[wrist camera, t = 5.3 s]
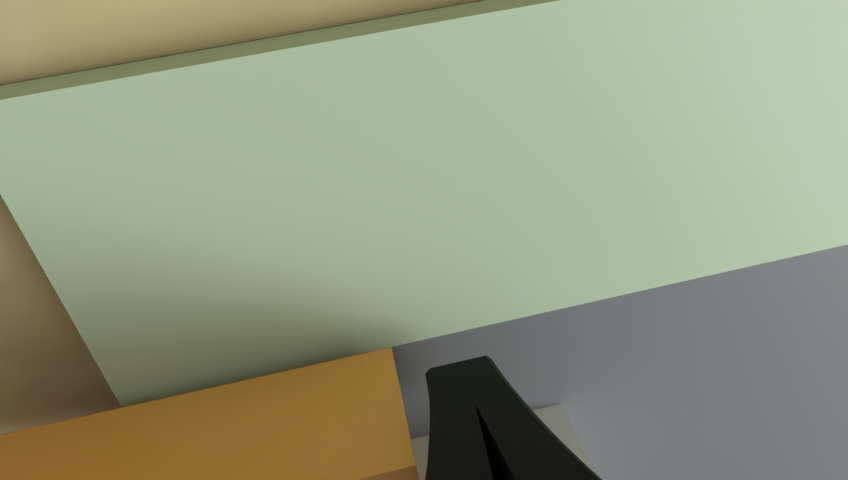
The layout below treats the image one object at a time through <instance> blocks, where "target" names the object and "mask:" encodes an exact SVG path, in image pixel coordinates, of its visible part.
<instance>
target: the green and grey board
mask: <svg viewBox="0 0 848 480" xmlns="http://www.w3.org/2000/svg"><path fill="white" fill-rule="evenodd" d="M0 195H1V196H2V198H3V200H4V202H5V203H6V205H7V207H8V209H9V210H10V212H11V214H12V216H13V217H14V219H15V221H16V223H17V224H18V226H19V228H20V230H21V232H22V233H23V235H24V237H25V239H26V240H27V242H28V244H29V246H30V247H31V249H32V251H33V253H34V254H35V256H36V258H37V260H38V261H39V263H40V265H41V267H42V268H43V270H44V272H45V274H46V275H47V277H48V279H49V281H50V282H51V284H52V286H53V288H54V289H55V291H56V293H57V295H58V297H59V298H60V300H61V302H62V304H63V305H64V307H65V309H66V311H67V312H68V314H69V316H70V318H71V319H72V321H73V323H74V325H75V326H76V328H77V330H78V332H79V333H80V335H81V337H82V339H83V340H84V342H85V344H86V346H87V347H88V349H89V351H90V353H91V355H92V356H93V358H94V360H95V362H96V363H97V365H98V367H99V369H100V370H101V372H102V374H103V376H104V377H105V379H106V381H107V383H108V384H109V386H110V388H111V390H112V391H113V393H114V395H115V397H116V398H117V400H118V402H119V404H120V405H121V407H122V408H123V407H127V406H132V405H136V404H140V403H145V402H149V401H154V400H158V399H163V398H167V397H172V396H176V395H181V394H185V393H189V392H194V391H198V390H203V389H207V388H212V387H216V386H221V385H225V384H230V383H234V382H238V381H243V380H247V379H252V378H256V377H261V376H265V375H270V374H274V373H279V372H283V371H287V370H292V369H296V368H301V367H305V366H310V365H314V364H319V363H323V362H328V361H332V360H336V359H341V358H345V357H350V356H354V355H359V354H363V353H368V352H372V351H377V350H381V349H385V348H390V347H392V352H393V357H394V362H395V366H396V371H397V376H398V380H399V385H400V390H401V395H402V399H403V404H404V409H405V414H406V419H407V423H408V428H409V433H410V438H411V439H414V438H419V437H423V436H427V435H429V429H430V405H429V393H428V388H427V382H426V376H425V373H426V372H427V371H428V370H429V369H430V368H433V367H437V366H442V365H446V364H451V363H455V362H459V361H464V360H468V359H473V358H477V357H482V356H488V357H489V358H491V359H492V360H493V362H494V363H495V365H496V366H497V367H498V369H499V370H500V372H501V373H502V374H503V376H504V377H505V378H506V380H507V381H508V382H509V383H510V385H511V386H512V387H513V388H514V390H515V391H516V392H517V393H518V394H519V396H520V397H521V398H522V399H523V400H524V401H525V403H526V404H527V405H528V406H529V407H530V408H531V409H532V410H536V409H540V408H544V407H548V406H553V405H557V404H561V405H562V407H563V409H564V411H565V413H566V415H567V417H568V419H569V421H570V423H571V425H572V427H573V429H574V431H575V433H576V435H577V437H578V439H579V441H580V443H581V445H582V447H583V449H584V451H585V453H586V455H587V457H588V459H589V461H590V463H591V465H592V466H593V468H594V470H595V472H596V474H597V475H598V476H599V477H600V478H601V479H602V480H848V0H483V1H477V2H472V3H466V4H460V5H455V6H449V7H443V8H438V9H432V10H426V11H421V12H415V13H409V14H404V15H398V16H392V17H387V18H381V19H375V20H370V21H364V22H358V23H353V24H347V25H341V26H336V27H330V28H324V29H319V30H313V31H307V32H302V33H296V34H290V35H284V36H279V37H273V38H267V39H262V40H256V41H250V42H245V43H239V44H233V45H228V46H222V47H216V48H211V49H205V50H199V51H194V52H188V53H182V54H177V55H171V56H165V57H160V58H154V59H148V60H143V61H137V62H131V63H126V64H120V65H114V66H109V67H103V68H97V69H91V70H86V71H80V72H74V73H69V74H63V75H57V76H52V77H46V78H40V79H35V80H29V81H23V82H18V83H12V84H6V85H1V86H0Z"/></svg>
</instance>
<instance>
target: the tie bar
mask: <svg viewBox="0 0 848 480" xmlns="http://www.w3.org/2000/svg"><path fill="white" fill-rule="evenodd" d="M0 480H419V477H418V472H417V467H416V462H415V457H414V452H413V448H412V443H411V438H410V433H409V428H408V423H407V419H406V414H405V409H404V404H403V399H402V395H401V390H400V385H399V380H398V376H397V371H396V366H395V362H394V357H393V352H392V347H390V348H385V349H381V350H377V351H372V352H368V353H363V354H359V355H354V356H350V357H345V358H341V359H336V360H332V361H328V362H323V363H319V364H314V365H310V366H305V367H301V368H296V369H292V370H287V371H283V372H279V373H274V374H270V375H265V376H261V377H256V378H252V379H247V380H243V381H238V382H234V383H230V384H225V385H221V386H216V387H212V388H207V389H203V390H198V391H194V392H189V393H185V394H181V395H176V396H172V397H167V398H163V399H158V400H154V401H149V402H145V403H140V404H136V405H132V406H127V407H123V408H118V409H114V410H109V411H105V412H100V413H96V414H91V415H87V416H83V417H78V418H74V419H69V420H65V421H60V422H56V423H51V424H47V425H42V426H38V427H34V428H29V429H25V430H20V431H16V432H11V433H7V434H2V435H0Z"/></svg>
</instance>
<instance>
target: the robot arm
mask: <svg viewBox="0 0 848 480" xmlns="http://www.w3.org/2000/svg"><path fill="white" fill-rule="evenodd" d="M425 376H426V382H427V388H428V393H429V405H430V429H429V446H428V460H427V470H426V477H425V480H602V479H601V478H600V477H599V476H598V475H596V474H595V473H594V472H593V471H592V470H591V469H590V468H589V467H588V466H587V465H586V464H584V463H583V462H582V461H581V460H580V459H579V458H578V457H577V456H576V455H575V454H574V453H573V452H572V451H571V450H570V449H569V448H568V447H567V446H566V445H565V444H564V443H563V442H562V441H561V440H560V439H559V438H558V437H557V436H556V435H555V434H554V433H553V432H552V431H551V430H550V429H549V428H548V427H547V426H546V425H545V424H544V422H543V421H542V420H541V419H540V418H539V417H538V416H537V415H536V414H535V413H534V412H533V411H532V409H531V408H530V407H529V406H528V405H527V404H526V403H525V401H524V400H523V399H522V398H521V397H520V396H519V394H518V393H517V392H516V391H515V390H514V388H513V387H512V386H511V385H510V383H509V382H508V381H507V380H506V378H505V377H504V376H503V374H502V373H501V372H500V370H499V369H498V367H497V366H496V365H495V363H494V362H493V360H492V359H491V358H489V357H488V356H482V357H477V358H473V359H468V360H464V361H459V362H455V363H451V364H446V365H442V366H437V367H433V368H430V369H429V370H428V371H427V372H426V373H425Z"/></svg>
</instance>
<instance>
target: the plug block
mask: <svg viewBox="0 0 848 480" xmlns="http://www.w3.org/2000/svg"><path fill="white" fill-rule="evenodd" d="M532 411H533V412H534V413H535V414H536V415H537V416H538V417H539V418H540V419H541V420H542V421H543V422H544V424H545V425H546V426H547V427H548V428H549V429H550V430H551V431H552V432H553V433H554V434H555V435H556V436H557V437H558V438H559V439H560V440H561V441H562V442H563V443H564V444H565V445H566V446H567V447H568V448H569V449H570V450H571V451H572V452H573V453H574V454H575V455H576V456H577V457H578V458H579V459H580V460H581V461H582V462H583V463H584V464H586V465H587V466H588V467H589V468H590V469H591V470H592V471H593V472H594V473H595V474H596V472H595V470H594V468H593V466H592V465H591V463H590V461H589V459H588V457H587V455H586V453H585V451H584V449H583V447H582V445H581V443H580V441H579V439H578V437H577V435H576V433H575V431H574V429H573V427H572V425H571V423H570V421H569V419H568V417H567V415H566V413H565V411H564V409H563V407H562V405H561V404H557V405H553V406H548V407H544V408H540V409H536V410H532ZM411 443H412V448H413V452H414V457H415V462H416V467H417V472H418V477H419V480H425V477H426V470H427V460H428V446H429V435H427V436H423V437H419V438H414V439H411ZM596 475H597V474H596Z"/></svg>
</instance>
